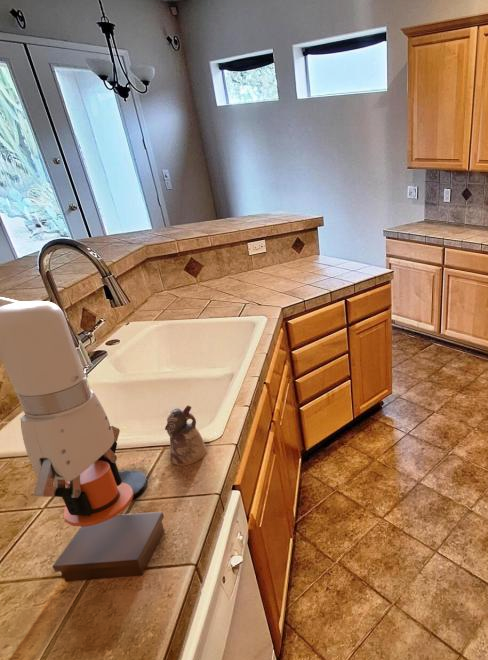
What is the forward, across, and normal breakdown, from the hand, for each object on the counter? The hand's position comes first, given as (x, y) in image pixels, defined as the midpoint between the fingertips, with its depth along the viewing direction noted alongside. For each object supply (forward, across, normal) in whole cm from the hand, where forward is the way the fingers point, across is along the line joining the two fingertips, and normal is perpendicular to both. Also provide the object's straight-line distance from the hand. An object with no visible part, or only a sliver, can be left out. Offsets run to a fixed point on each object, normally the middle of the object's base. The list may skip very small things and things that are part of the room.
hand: (97, 497), depth 65 cm
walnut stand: (+12, 0, 0) cm, 12 cm away
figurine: (+12, -27, -2) cm, 30 cm away
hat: (+1, 0, 0) cm, 1 cm away
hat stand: (+12, -14, -10) cm, 21 cm away
